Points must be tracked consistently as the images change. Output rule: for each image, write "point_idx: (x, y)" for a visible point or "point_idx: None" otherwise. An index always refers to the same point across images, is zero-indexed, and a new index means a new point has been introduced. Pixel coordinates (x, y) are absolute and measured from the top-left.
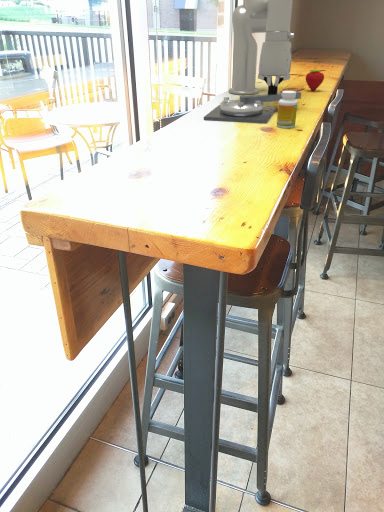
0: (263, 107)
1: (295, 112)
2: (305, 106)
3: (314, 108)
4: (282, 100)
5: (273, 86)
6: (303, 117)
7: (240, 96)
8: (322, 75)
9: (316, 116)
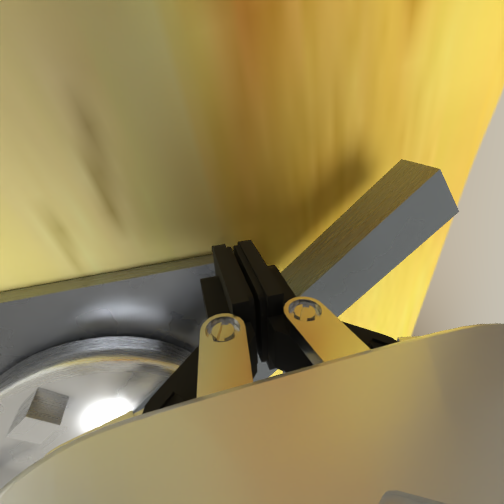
0: (182, 287)
1: None
2: (421, 47)
3: (458, 107)
4: None
5: (270, 366)
6: (376, 319)
7: (22, 436)
8: None
9: (424, 285)
